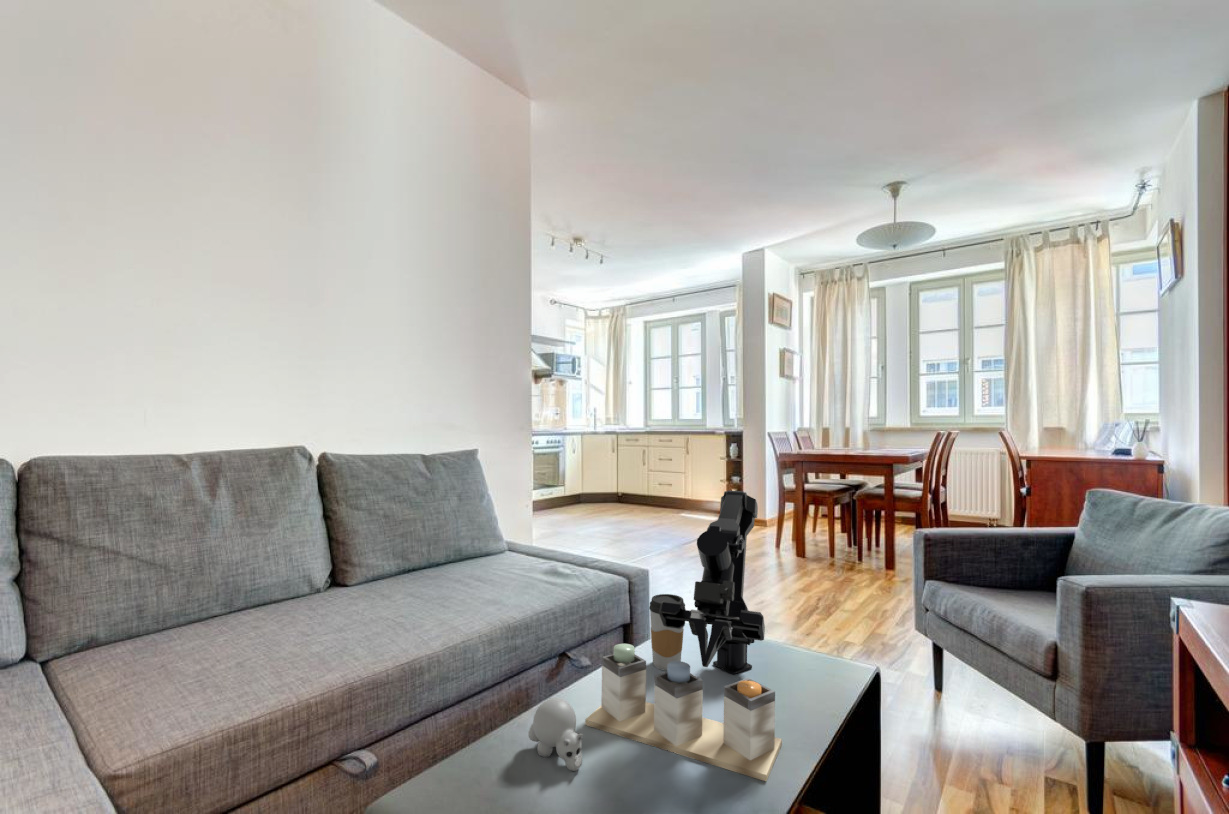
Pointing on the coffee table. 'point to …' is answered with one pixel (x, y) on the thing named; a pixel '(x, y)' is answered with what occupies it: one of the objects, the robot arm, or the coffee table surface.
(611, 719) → the button board
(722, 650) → the robot arm
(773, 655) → the coffee table surface
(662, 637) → the coffee cup
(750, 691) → the orange button
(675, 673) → the slate button
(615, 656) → the sage button
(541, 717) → the toy rhinoceros
